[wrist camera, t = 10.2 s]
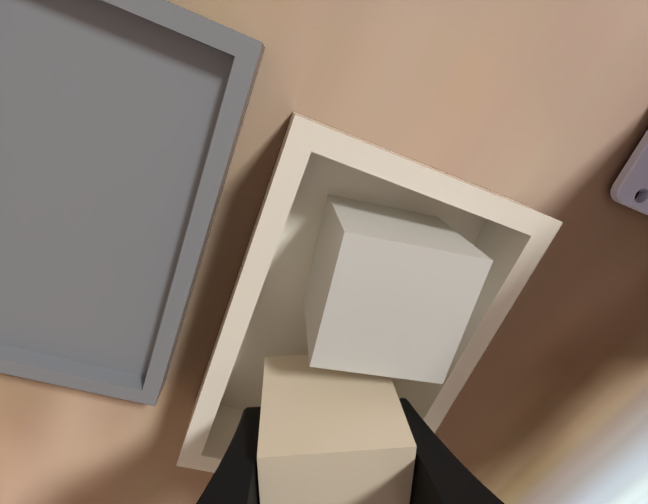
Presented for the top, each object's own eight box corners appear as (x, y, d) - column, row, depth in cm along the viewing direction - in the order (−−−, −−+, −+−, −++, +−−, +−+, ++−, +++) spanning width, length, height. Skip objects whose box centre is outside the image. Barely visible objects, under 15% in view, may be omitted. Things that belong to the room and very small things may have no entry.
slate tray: (264, 47, 12) (262, 42, 11) (164, 384, 16) (155, 406, 15) (-40, -85, 10) (-81, -107, 9) (-65, 332, 14) (-95, 352, 13)
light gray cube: (437, 216, 14) (493, 260, 10) (404, 314, 15) (442, 384, 11) (327, 194, 13) (344, 232, 9) (303, 297, 14) (309, 366, 11)
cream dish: (509, 198, 14) (563, 222, 12) (374, 443, 18) (390, 505, 15) (293, 111, 13) (294, 114, 10) (194, 403, 16) (175, 465, 14)
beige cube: (380, 351, 14) (416, 446, 10) (374, 437, 15) (403, 549, 11) (265, 356, 13) (256, 458, 9) (270, 444, 15) (264, 562, 11)
